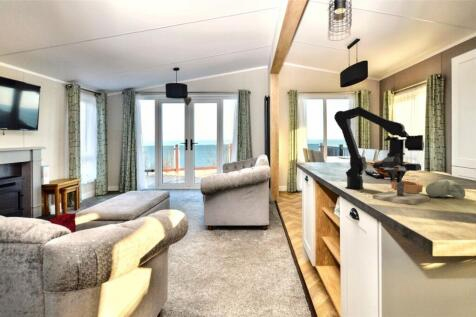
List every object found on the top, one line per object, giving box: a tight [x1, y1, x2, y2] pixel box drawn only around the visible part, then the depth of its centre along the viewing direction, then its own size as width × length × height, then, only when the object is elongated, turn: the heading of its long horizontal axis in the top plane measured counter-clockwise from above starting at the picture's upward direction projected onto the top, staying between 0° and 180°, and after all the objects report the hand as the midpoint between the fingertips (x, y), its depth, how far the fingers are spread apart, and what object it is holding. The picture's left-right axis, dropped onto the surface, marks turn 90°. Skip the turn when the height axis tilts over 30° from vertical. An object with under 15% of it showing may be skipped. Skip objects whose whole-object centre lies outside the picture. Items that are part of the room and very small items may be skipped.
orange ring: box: [390, 179, 424, 194], centre depth 123 cm, size 11×11×3 cm
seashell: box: [425, 179, 466, 200], centre depth 114 cm, size 13×8×10 cm
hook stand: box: [372, 182, 430, 206], centre depth 112 cm, size 15×13×7 cm
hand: (395, 184), depth 127 cm, fingers closed on orange ring, 2 cm apart
